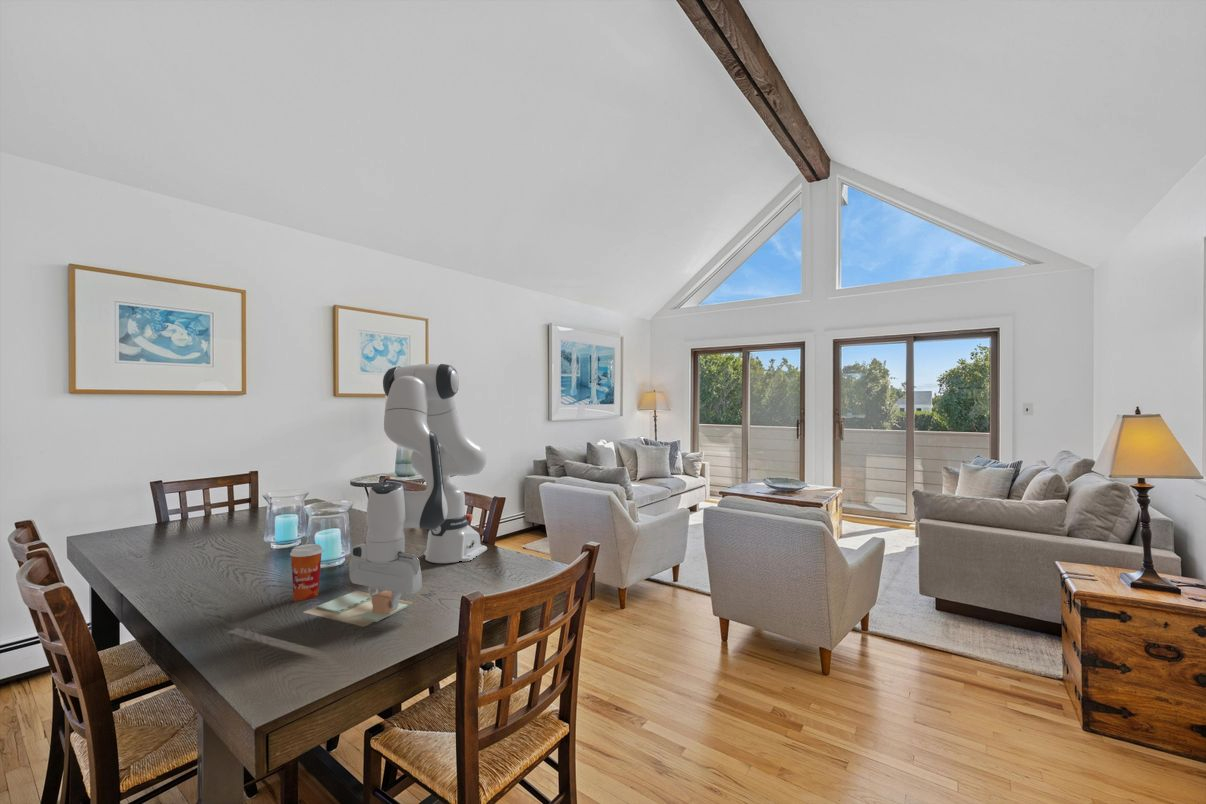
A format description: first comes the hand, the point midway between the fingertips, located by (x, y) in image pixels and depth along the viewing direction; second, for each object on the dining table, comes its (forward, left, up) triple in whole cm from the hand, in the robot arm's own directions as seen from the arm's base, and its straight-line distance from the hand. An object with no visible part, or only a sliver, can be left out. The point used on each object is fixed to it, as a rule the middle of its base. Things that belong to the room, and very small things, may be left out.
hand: (385, 605), depth 129 cm
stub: (0, 0, -2) cm, 2 cm away
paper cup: (0, -27, -3) cm, 27 cm away
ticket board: (0, -8, -3) cm, 9 cm away
